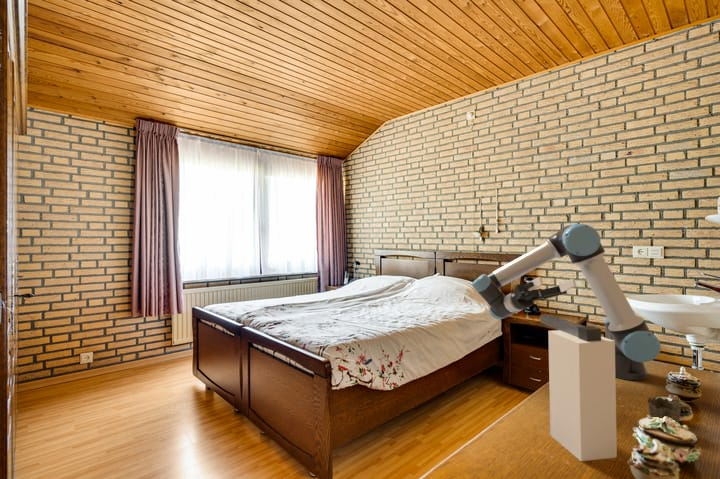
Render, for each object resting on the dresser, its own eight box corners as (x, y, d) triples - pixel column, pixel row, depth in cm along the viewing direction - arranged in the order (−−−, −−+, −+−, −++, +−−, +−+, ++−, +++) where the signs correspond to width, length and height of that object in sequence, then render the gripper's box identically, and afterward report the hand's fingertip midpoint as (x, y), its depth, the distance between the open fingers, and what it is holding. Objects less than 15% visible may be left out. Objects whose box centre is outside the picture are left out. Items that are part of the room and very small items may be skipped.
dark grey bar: (550, 322, 113) (550, 312, 112) (601, 340, 93) (600, 328, 93) (538, 322, 112) (538, 313, 112) (586, 341, 92) (586, 329, 92)
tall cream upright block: (582, 432, 104) (580, 328, 104) (616, 457, 92) (614, 340, 92) (550, 435, 103) (548, 330, 103) (581, 461, 91) (578, 343, 91)
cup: (642, 426, 106) (641, 399, 106) (657, 421, 109) (656, 394, 109) (672, 439, 100) (671, 410, 100) (687, 433, 103) (686, 405, 102)
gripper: (548, 310, 142) (591, 293, 123) (492, 309, 135) (529, 290, 117) (542, 292, 145) (584, 272, 127) (488, 290, 139) (523, 269, 121)
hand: (558, 281), depth 122 cm, fingers open, 13 cm apart
